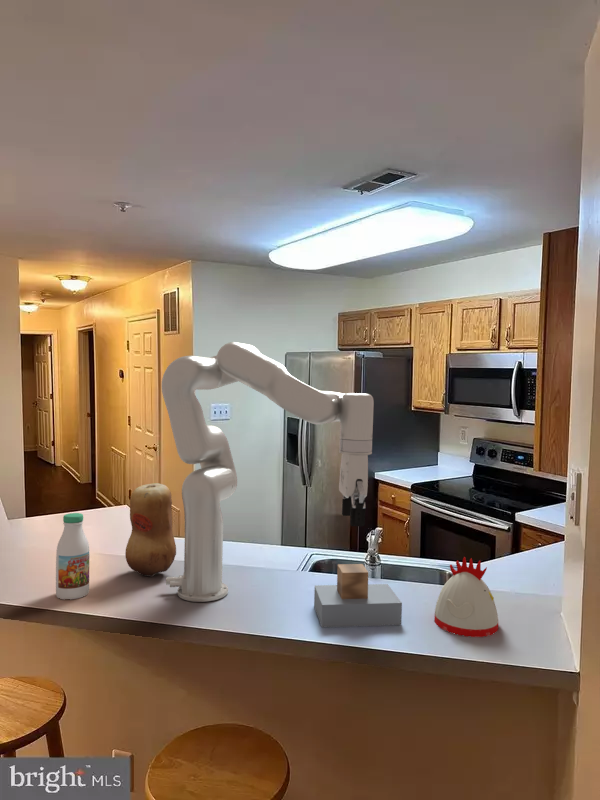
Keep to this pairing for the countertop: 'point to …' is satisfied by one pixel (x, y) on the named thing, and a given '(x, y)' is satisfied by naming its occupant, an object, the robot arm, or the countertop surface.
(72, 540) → the milk bottle
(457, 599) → the kitchen timer
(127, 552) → the butternut squash
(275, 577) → the countertop surface
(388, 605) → the block
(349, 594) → the walnut cube
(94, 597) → the countertop surface
